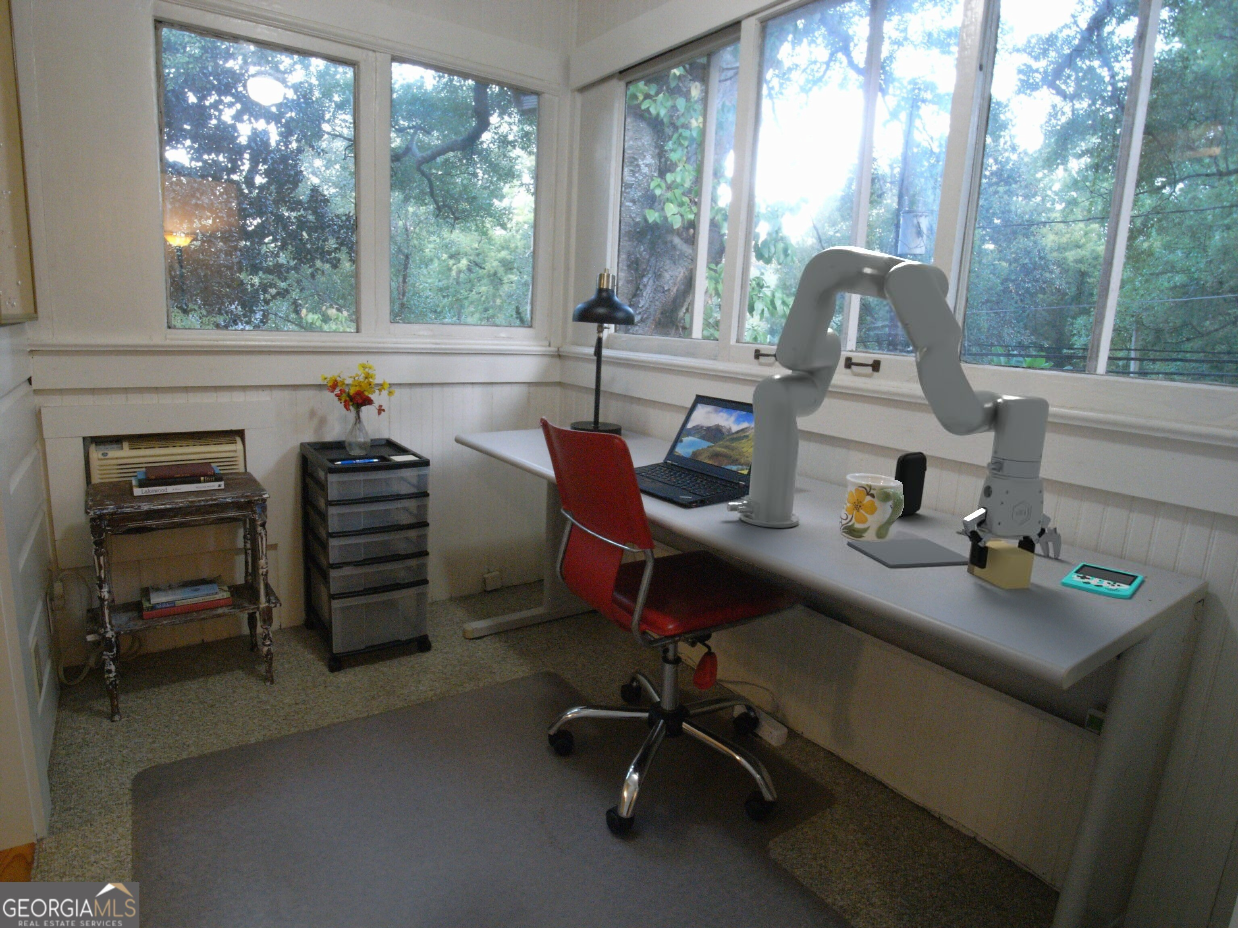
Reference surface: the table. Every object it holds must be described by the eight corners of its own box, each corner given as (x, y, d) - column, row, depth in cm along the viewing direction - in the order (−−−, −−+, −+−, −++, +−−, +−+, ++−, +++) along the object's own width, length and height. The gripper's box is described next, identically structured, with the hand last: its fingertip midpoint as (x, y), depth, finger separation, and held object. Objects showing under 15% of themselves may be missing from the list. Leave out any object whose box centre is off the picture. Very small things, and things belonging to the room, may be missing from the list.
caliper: (1059, 559, 144) (1064, 528, 143) (1056, 560, 144) (1061, 529, 142) (957, 533, 160) (961, 505, 159) (955, 534, 159) (959, 505, 158)
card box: (1004, 589, 125) (1009, 554, 124) (966, 571, 134) (971, 538, 132) (1029, 588, 126) (1034, 553, 125) (990, 570, 135) (995, 537, 134)
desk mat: (890, 567, 133) (890, 564, 133) (847, 544, 147) (847, 541, 146) (974, 563, 138) (974, 560, 138) (925, 541, 151) (925, 538, 151)
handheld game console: (1058, 587, 129) (1059, 579, 129) (1079, 567, 141) (1080, 560, 140) (1126, 603, 122) (1127, 595, 122) (1142, 581, 134) (1144, 574, 134)
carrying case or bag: (913, 510, 177) (921, 449, 174) (925, 513, 175) (933, 452, 172) (887, 515, 171) (894, 452, 168) (898, 519, 169) (906, 455, 166)
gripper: (988, 473, 120) (974, 574, 123) (1074, 472, 125) (1058, 569, 128) (956, 464, 127) (944, 560, 131) (1038, 464, 132) (1025, 556, 135)
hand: (1000, 565), depth 129 cm, fingers open, 9 cm apart
